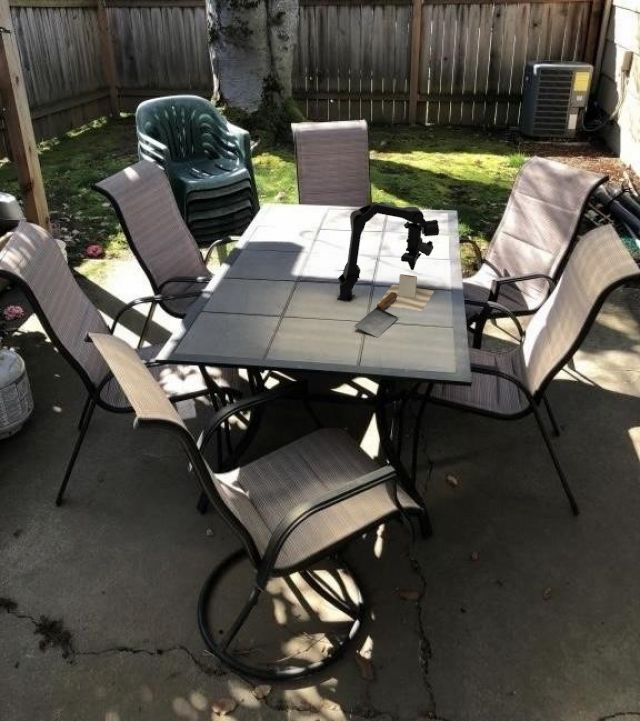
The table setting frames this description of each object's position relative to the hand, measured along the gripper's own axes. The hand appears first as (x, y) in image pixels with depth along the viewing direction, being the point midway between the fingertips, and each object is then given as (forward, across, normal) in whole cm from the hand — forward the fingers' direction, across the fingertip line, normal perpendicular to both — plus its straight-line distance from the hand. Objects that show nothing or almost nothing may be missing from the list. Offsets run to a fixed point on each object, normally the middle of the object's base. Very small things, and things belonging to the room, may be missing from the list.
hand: (412, 269), depth 295 cm
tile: (+10, -7, 0) cm, 12 cm away
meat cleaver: (+11, -29, +4) cm, 31 cm away
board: (+11, -8, 0) cm, 14 cm away
